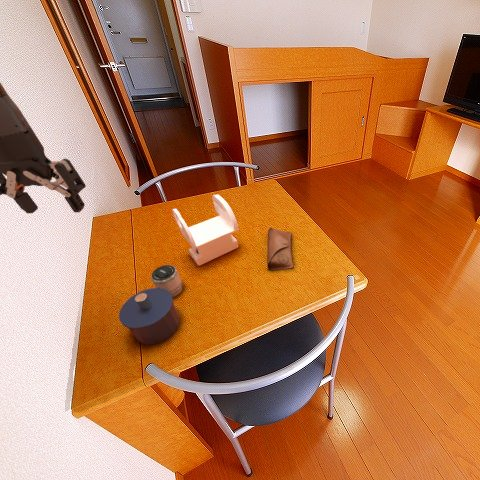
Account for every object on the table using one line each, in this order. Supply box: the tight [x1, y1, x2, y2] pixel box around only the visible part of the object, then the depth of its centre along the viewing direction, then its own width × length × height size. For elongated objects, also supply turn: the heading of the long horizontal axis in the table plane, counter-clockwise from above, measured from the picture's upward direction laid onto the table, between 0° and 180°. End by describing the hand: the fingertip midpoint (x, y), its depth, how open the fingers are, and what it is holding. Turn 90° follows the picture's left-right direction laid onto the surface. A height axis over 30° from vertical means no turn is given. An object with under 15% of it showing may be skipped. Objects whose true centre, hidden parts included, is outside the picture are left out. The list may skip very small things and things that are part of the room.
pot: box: [128, 302, 181, 345], centre depth 67 cm, size 10×10×8 cm
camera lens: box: [150, 264, 183, 298], centre depth 76 cm, size 6×6×8 cm
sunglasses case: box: [266, 227, 294, 271], centre depth 91 cm, size 18×7×7 cm
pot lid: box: [118, 287, 174, 329], centre depth 64 cm, size 11×11×5 cm
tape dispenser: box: [171, 193, 240, 267], centre depth 86 cm, size 14×13×18 cm
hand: (56, 210), depth 55 cm, fingers open, 8 cm apart
